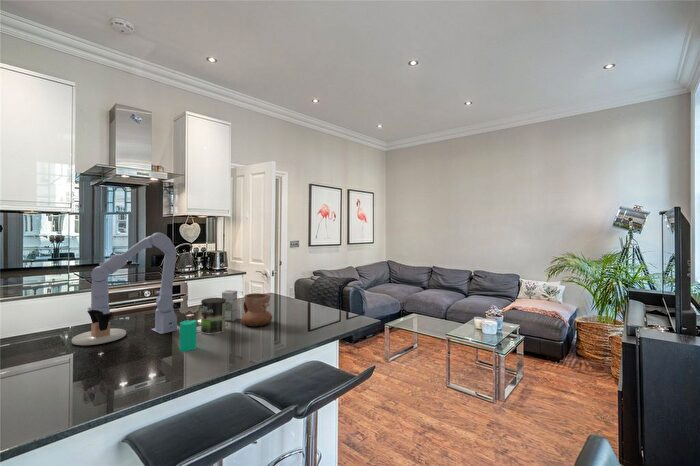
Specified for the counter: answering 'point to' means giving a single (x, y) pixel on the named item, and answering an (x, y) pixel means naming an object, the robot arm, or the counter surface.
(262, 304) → the ceramic jug
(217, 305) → the glass jar
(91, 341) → the dish
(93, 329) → the block
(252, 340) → the counter surface
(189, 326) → the candle
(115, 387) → the counter surface
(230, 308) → the syrup box
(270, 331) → the counter surface
